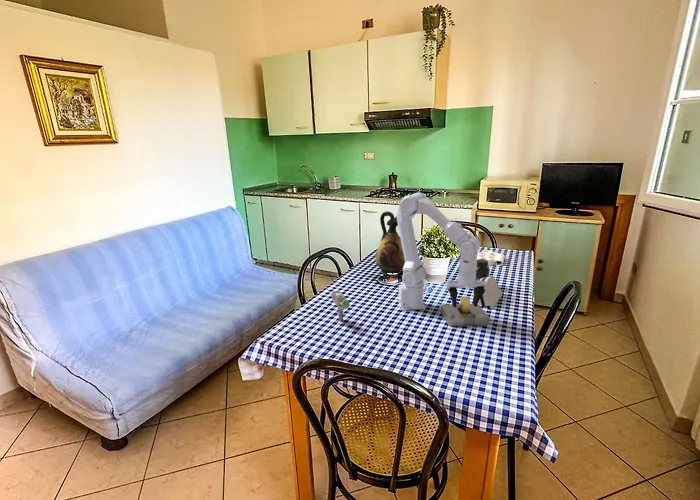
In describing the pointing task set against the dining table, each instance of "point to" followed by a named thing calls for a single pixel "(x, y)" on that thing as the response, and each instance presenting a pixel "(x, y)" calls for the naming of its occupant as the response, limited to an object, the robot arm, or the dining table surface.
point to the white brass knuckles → (491, 257)
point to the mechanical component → (340, 302)
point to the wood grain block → (464, 305)
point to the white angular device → (490, 293)
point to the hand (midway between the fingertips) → (464, 305)
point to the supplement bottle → (482, 269)
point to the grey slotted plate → (464, 315)
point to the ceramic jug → (390, 247)
